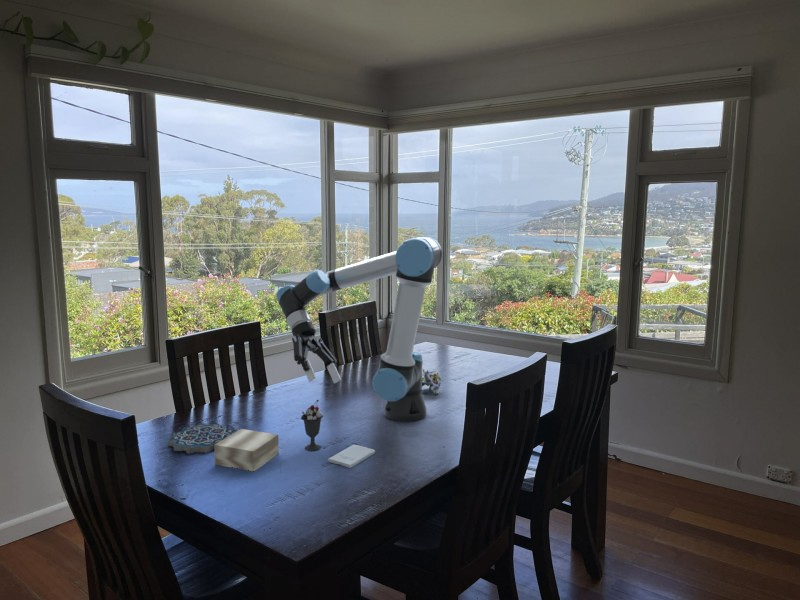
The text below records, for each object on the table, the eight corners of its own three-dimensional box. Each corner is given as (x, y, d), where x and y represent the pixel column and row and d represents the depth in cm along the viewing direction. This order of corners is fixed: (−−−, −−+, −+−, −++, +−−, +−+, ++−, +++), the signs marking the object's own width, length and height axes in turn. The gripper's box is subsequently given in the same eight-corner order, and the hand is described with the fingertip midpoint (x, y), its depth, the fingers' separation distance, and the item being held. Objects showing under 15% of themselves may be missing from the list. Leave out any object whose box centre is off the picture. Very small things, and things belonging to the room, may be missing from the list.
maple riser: (278, 453, 174) (278, 434, 173) (254, 471, 162) (253, 451, 161) (241, 447, 178) (241, 428, 177) (215, 464, 166) (214, 444, 165)
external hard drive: (375, 454, 175) (350, 469, 165) (353, 448, 179) (327, 463, 169) (375, 449, 175) (350, 464, 164) (353, 443, 179) (327, 457, 169)
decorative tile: (232, 452, 175) (232, 445, 175) (163, 456, 172) (162, 449, 172) (239, 428, 195) (239, 421, 194) (177, 431, 191) (177, 424, 191)
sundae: (327, 445, 180) (326, 398, 178) (317, 453, 174) (316, 405, 172) (308, 442, 182) (307, 396, 180) (298, 450, 176) (297, 403, 174)
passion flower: (435, 407, 232) (438, 389, 224) (409, 400, 234) (411, 382, 226) (442, 385, 240) (444, 367, 232) (416, 379, 242) (418, 361, 233)
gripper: (315, 336, 208) (339, 387, 200) (269, 328, 187) (292, 385, 178) (331, 324, 206) (355, 376, 197) (285, 315, 184) (310, 372, 176)
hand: (325, 380), depth 188 cm, fingers open, 13 cm apart
